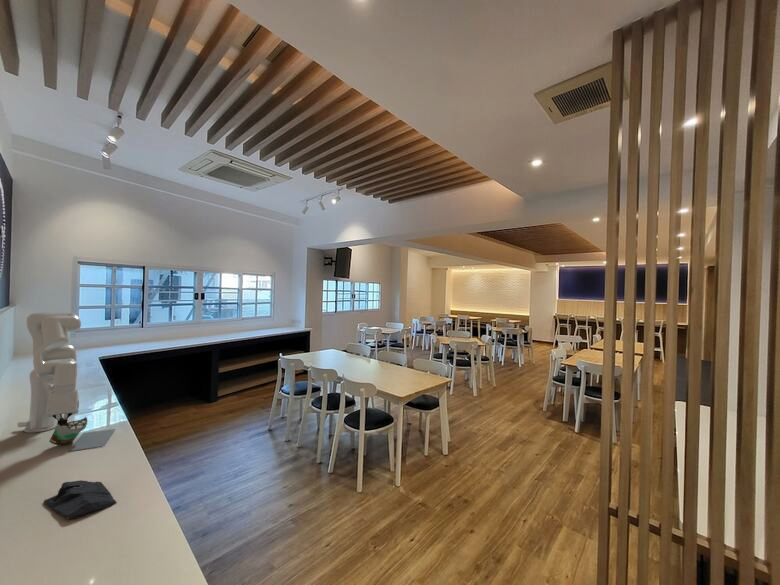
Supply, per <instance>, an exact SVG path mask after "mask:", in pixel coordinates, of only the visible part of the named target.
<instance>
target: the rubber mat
mask: <svg viewBox="0 0 780 585" xmlns="http://www.w3.org/2000/svg"><path fill="white" fill-rule="evenodd" d="M114 430H115V431H116V429H115V428H111V429H104V430H103V429H102V430H97V431H89V432H88V431H87V432H83V433H82V434H81V435H80V436H79V437H78V439H77V440H76V441H75V442H74V443H73V444H72V446H71V447H70V448H69V449H68V450H67V452H68V453H70V452H76V451H83V450H84V451H85V450H90V449H91V448H92V449H98V448H97V447H99V448H104V447H105V446H106V445H107V443H108V442H109V440H110V439H109V438H111V437H112V436H113V434H114V432H115V431H114ZM112 433H113V434H112ZM110 436H111V437H110ZM107 441H108V442H107ZM105 444H106V445H105ZM103 446H104V447H103Z"/></svg>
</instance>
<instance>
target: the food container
mask: <svg viewBox="0 0 780 585" xmlns="http://www.w3.org/2000/svg"><path fill="white" fill-rule="evenodd" d="M87 425H88V418H87V417H86V416H85V417H84V418H81V419H77V420H72V421H69V422H67V423H66V424H63V425H59V424H58V425H57V426H56V427H55V428H54V431H53V432H52V435H51V437H50V439H49V443H51V444H53V445H56V446H66V445H67V446H68V445H70V444H72V443H73V441H75V440H76V439H77V437H78V436H79V434H81V432H82V431H83V430H85V429H86V427H87Z"/></svg>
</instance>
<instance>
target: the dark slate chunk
mask: <svg viewBox="0 0 780 585" xmlns="http://www.w3.org/2000/svg"><path fill="white" fill-rule="evenodd" d="M43 503H44V504H46V505H47V506H48V507H49V508H50V510H53V511H55V512H56V513H58V515H59V514H60V515H61V516H62V517H64V518H65V519H68V520H72V519H74V518H77V517H81V516H83V515H86V514H89V513H92V512H96V511H99V510H103V509H107V508H109V507H111V506H113V505H115V504H117V501H116V500H115V499H114V497H113V495H112V494H111V492H110V491H109V489H108V488H106V486H105V485H104V484H103V482H102V481H88V480H75V481H65V482H63V483H61V486H60V488H59V490H57V494H56V495H54V496H51V497H49V498H46V499H44V500H43Z"/></svg>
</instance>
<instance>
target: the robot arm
mask: <svg viewBox="0 0 780 585" xmlns="http://www.w3.org/2000/svg"><path fill="white" fill-rule="evenodd" d="M81 322H82V321H81V319H80V318H79V316H78V315H77V314H75V313H73V312H68V311H64V312H63V311H62V312H60V311H59V312H57V311H56V312H55V311H54V312H53V311H50V312H49V311H48V312H47V311H45V312H41V311H40V312H34V313H31V314H29V315H28V316H27V317H26V328H27V330H28V332H29V334H30V336H31V339H32V356H33V360H32V363H33V364H32V365H33V369H32V371H31V372H30V373H29V382H30V404H29V420H27V421H21V422H17V424H16V425H17V427H18V428H23V427H25V428H24V429H23V431H24V432H25V433H29V434H32V433H33V434H34V433H40V432H45V431H50V430H54V429H55V427H56V426H57V425H58V424H59V425H63V424H66V423H68V420H69V419H68V418H70V417H71V416H74V415H76V414H79V411H80V410H79V408H80V407H79V406H80V398H79V391H78V389H77V376H78V363H77V361H78V360H77V350H76V348H75V347H74V345H72V344H68V343H69V337H68V332H77V331H79V330H80V329H81V327H82V326H81V325H82V323H81Z"/></svg>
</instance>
